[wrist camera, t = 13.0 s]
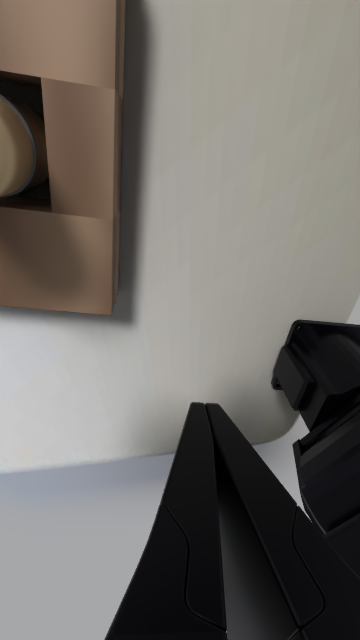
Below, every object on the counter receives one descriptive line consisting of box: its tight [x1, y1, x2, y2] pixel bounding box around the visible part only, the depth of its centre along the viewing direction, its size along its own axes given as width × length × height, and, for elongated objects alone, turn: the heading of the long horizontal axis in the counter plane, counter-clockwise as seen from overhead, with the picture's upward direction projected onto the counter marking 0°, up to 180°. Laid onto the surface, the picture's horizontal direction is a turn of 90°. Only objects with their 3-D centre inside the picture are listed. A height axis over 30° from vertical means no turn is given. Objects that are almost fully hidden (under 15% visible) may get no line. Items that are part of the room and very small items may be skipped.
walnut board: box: [0, 0, 126, 315], centre depth 14 cm, size 11×16×3 cm
